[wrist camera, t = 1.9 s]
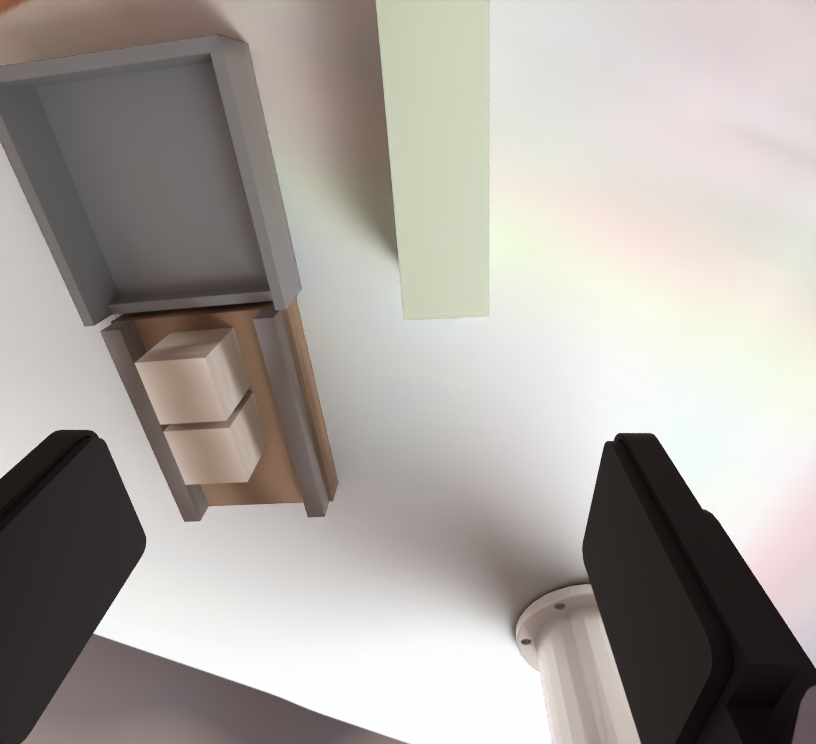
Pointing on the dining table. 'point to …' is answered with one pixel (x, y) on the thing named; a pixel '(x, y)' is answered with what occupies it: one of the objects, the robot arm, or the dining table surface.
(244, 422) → the chip
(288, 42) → the dining table surface
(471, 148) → the bar
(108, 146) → the tray
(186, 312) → the groove board
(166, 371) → the chip
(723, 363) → the dining table surface
